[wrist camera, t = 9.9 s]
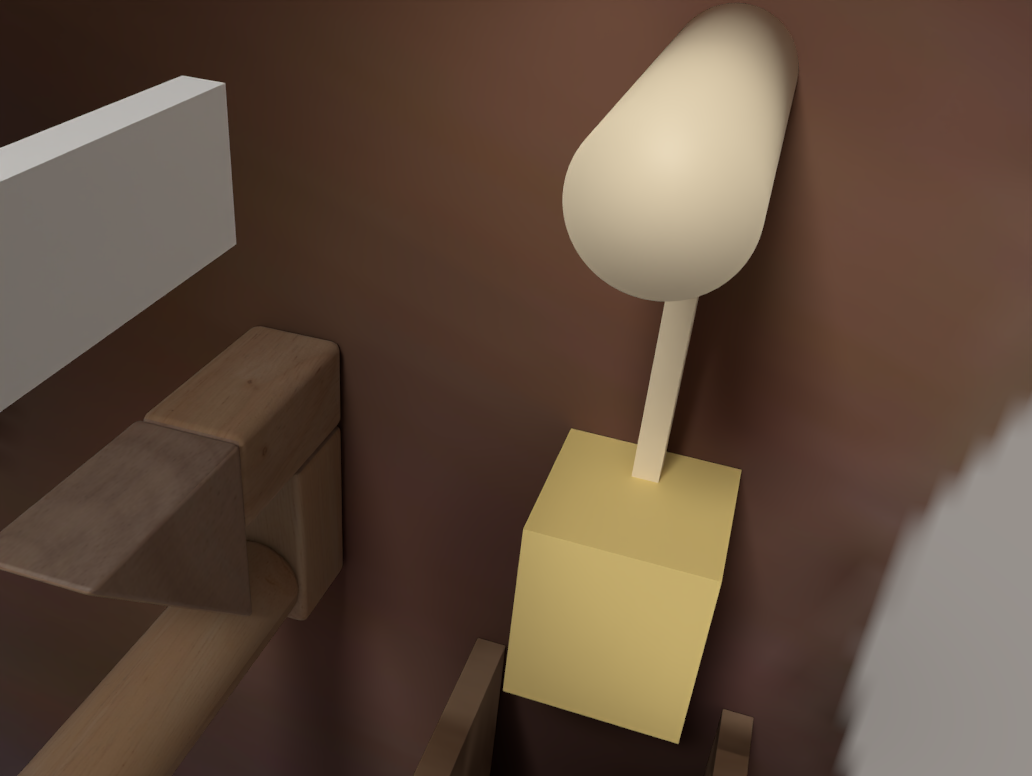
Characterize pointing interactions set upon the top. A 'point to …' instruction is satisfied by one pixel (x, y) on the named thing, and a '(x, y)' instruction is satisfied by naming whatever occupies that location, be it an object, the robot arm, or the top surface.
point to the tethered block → (652, 380)
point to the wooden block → (194, 544)
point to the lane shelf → (473, 714)
